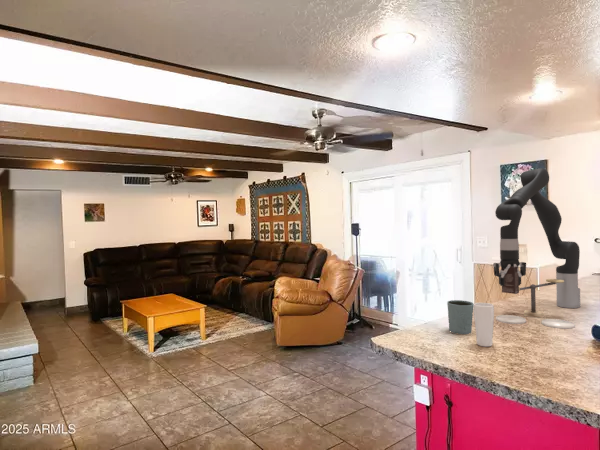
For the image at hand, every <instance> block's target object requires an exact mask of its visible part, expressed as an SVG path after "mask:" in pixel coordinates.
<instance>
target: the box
mask: <svg viewBox="0 0 600 450" xmlns="http://www.w3.org/2000/svg"><path fill="white" fill-rule="evenodd" d="M500 267H501V266H500ZM500 270H502V271H504V269H503V268H502V267H501V268H500ZM503 278H504V286H501V293H505V294H513V295H517V294H519V293H520V291H519V288H520V286H519V275H518V270H517V267H510V268H509V269H508V271H507V273H506V274H505V275H504V277H503Z"/></svg>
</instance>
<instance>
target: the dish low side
mask: <svg viewBox="0 0 600 450" xmlns="http://www.w3.org/2000/svg"><path fill="white" fill-rule="evenodd" d="M495 320H496V321H497V322H499V323H504V324H511V325H512V324H513V325H523V324H526V323H527V319H526V317H524V316H520V315H512V314H511V315H510V314H501V315H500V314H499V315H496V316H495Z"/></svg>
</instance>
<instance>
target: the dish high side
mask: <svg viewBox="0 0 600 450" xmlns="http://www.w3.org/2000/svg"><path fill="white" fill-rule="evenodd" d="M541 325H543V326H545V327H549V328H554V329H574V328H576V324H575V322H573V321H569V320H564V319H558V318H545V319H544V318H543V319H541Z"/></svg>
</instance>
